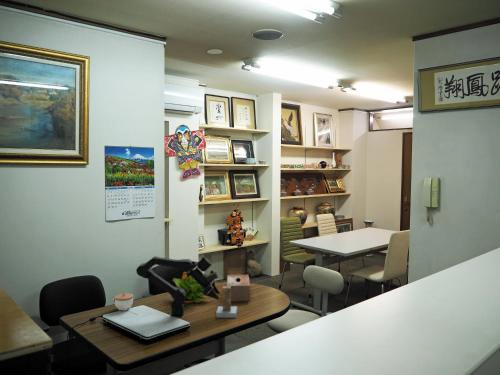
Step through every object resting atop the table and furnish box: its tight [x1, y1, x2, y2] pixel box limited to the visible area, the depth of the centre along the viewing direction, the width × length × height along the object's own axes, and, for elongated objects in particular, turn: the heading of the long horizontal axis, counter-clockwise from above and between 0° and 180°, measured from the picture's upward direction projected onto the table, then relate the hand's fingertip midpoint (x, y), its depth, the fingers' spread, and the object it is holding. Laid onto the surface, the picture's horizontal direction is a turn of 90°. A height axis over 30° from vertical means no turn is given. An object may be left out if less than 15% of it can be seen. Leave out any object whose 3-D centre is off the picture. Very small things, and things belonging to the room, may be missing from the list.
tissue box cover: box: [226, 274, 251, 302], centre depth 267 cm, size 26×14×10 cm, turn 2°
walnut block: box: [222, 285, 232, 311], centre depth 231 cm, size 4×4×13 cm
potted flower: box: [171, 271, 209, 304], centre depth 255 cm, size 25×24×18 cm
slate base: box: [215, 305, 238, 319], centre depth 231 cm, size 11×11×2 cm
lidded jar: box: [114, 292, 134, 311], centre depth 240 cm, size 11×11×9 cm
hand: (218, 296), depth 230 cm, fingers open, 9 cm apart
